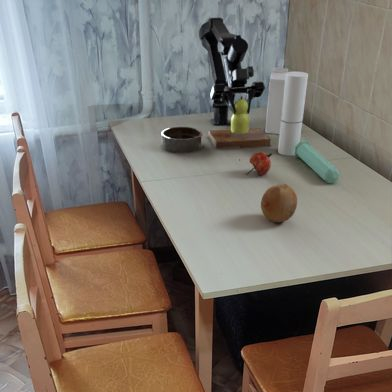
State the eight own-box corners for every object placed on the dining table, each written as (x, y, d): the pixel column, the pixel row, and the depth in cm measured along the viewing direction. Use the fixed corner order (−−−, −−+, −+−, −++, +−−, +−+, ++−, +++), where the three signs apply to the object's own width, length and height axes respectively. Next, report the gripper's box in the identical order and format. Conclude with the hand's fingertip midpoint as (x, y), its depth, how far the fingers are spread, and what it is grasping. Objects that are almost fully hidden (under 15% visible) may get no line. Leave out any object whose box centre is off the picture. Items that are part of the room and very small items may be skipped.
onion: (271, 209, 154) (275, 174, 147) (302, 219, 149) (306, 184, 143) (252, 220, 148) (254, 185, 142) (283, 231, 143) (287, 195, 137)
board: (208, 137, 202) (208, 130, 200) (260, 134, 205) (260, 127, 203) (215, 149, 192) (215, 142, 190) (270, 146, 195) (270, 139, 193)
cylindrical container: (297, 149, 193) (307, 71, 177) (298, 156, 187) (308, 77, 171) (277, 148, 193) (285, 71, 177) (278, 155, 188) (286, 76, 172)
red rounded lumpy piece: (252, 186, 172) (279, 167, 169) (239, 167, 169) (266, 147, 166) (251, 179, 178) (277, 161, 175) (239, 161, 176) (265, 142, 172)
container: (340, 165, 164) (308, 137, 182) (322, 173, 164) (292, 145, 183) (344, 181, 168) (312, 152, 186) (326, 190, 168) (296, 160, 187)
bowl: (159, 141, 198) (158, 127, 194) (197, 139, 200) (197, 125, 197) (165, 155, 187) (164, 140, 184) (205, 153, 189) (205, 138, 186)
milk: (268, 128, 211) (273, 65, 197) (283, 129, 210) (289, 66, 196) (265, 133, 206) (270, 69, 193) (280, 134, 205) (287, 70, 191)
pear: (226, 131, 195) (228, 96, 188) (237, 126, 199) (239, 92, 192) (242, 134, 192) (244, 100, 185) (252, 130, 196) (254, 96, 189)
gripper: (213, 58, 182) (221, 102, 181) (265, 56, 186) (274, 99, 184) (206, 78, 193) (214, 119, 192) (256, 75, 197) (264, 116, 195)
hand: (241, 113), depth 190 cm, fingers closed on pear, 5 cm apart
